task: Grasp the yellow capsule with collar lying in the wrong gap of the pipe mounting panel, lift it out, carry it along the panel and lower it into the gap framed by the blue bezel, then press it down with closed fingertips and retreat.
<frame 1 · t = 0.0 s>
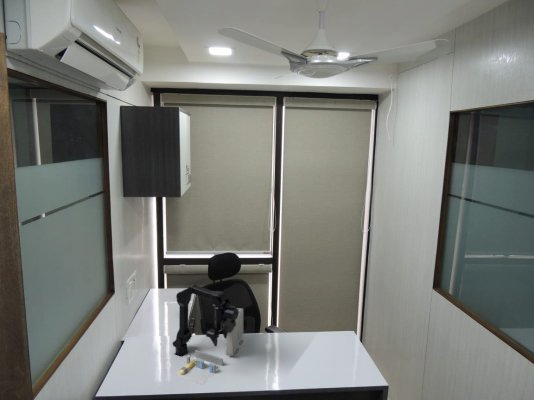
hand: (220, 342, 190), 15 cm above the table, fingers open, 9 cm apart
network device: (235, 347, 212), on the table
yellow capsule with collar: (187, 369, 188), point 1 cm above the table, touching pipe mounting panel
pipe mounting panel: (199, 370, 188), on the table
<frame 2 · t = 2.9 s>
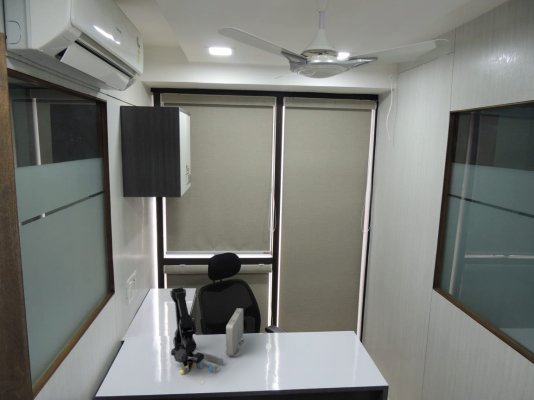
hand: (187, 368, 188), 1 cm above the table, fingers closed on yellow capsule with collar, 2 cm apart
yellow capsule with collar: (187, 369, 188), point 1 cm above the table, touching pipe mounting panel, gripper
everything else where it was.
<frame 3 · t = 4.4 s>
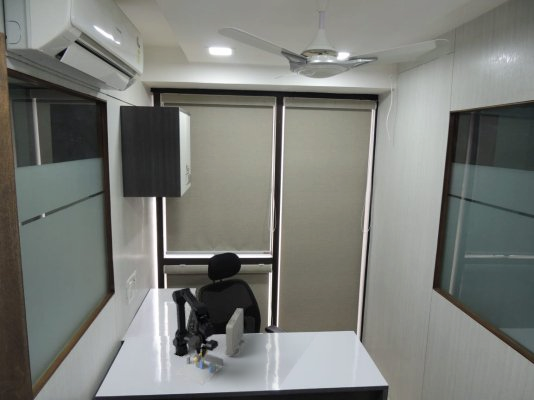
hand: (201, 356, 183), 11 cm above the table, fingers closed on yellow capsule with collar, 2 cm apart
yellow capsule with collar: (201, 357, 183), point 11 cm above the table, touching gripper
everything else where it was.
when the fingers open (2 cm above the table, at t = 6.1 s): yellow capsule with collar drops 1 cm, resting on pipe mounting panel.
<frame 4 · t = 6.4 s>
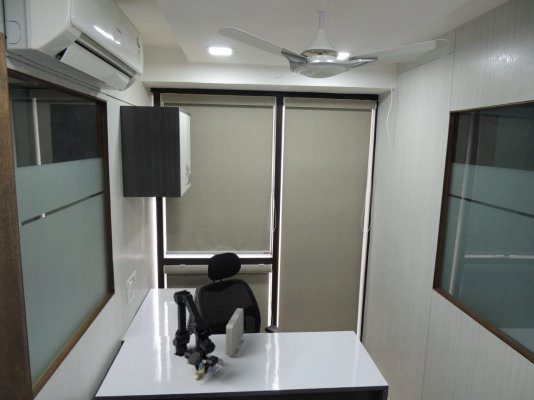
hand: (201, 372, 184), 2 cm above the table, fingers open, 5 cm apart
yellow capsule with collar: (201, 374, 184), point 1 cm above the table, touching pipe mounting panel
everything else where it was.
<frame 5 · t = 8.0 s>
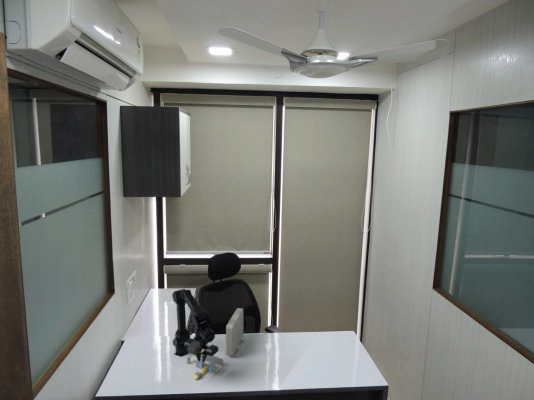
hand: (201, 361, 183), 8 cm above the table, fingers open, 3 cm apart
nothing on the table moved.
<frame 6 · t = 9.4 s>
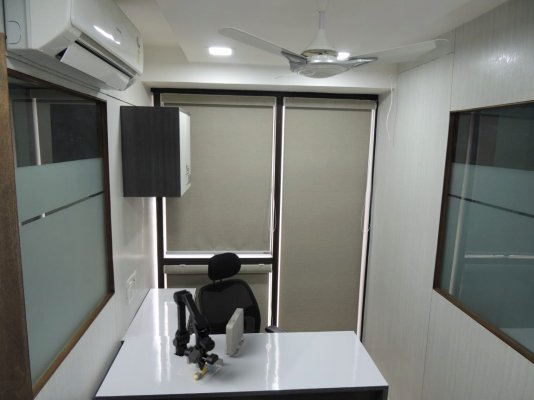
hand: (201, 370, 184), 3 cm above the table, fingers closed
nothing on the table moved.
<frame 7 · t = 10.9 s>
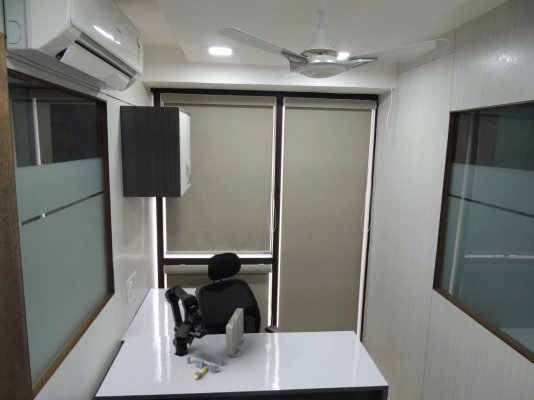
hand: (190, 344, 192), 12 cm above the table, fingers closed
nothing on the table moved.
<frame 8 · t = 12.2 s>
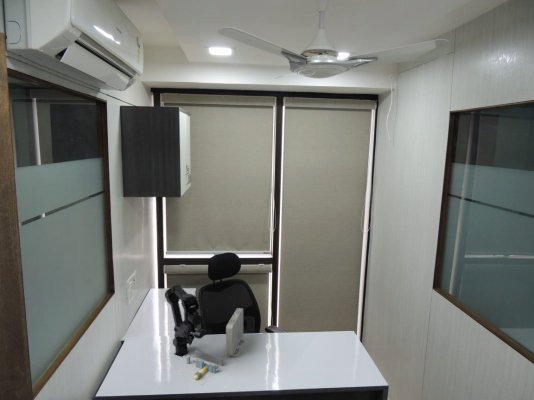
hand: (190, 344, 192), 12 cm above the table, fingers closed
nothing on the table moved.
at the end: yellow capsule with collar 0.0 cm from the target spot, point 0.6 cm above the table; the gripper is holding nothing; yellow capsule with collar moved 9.5 cm from its start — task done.
